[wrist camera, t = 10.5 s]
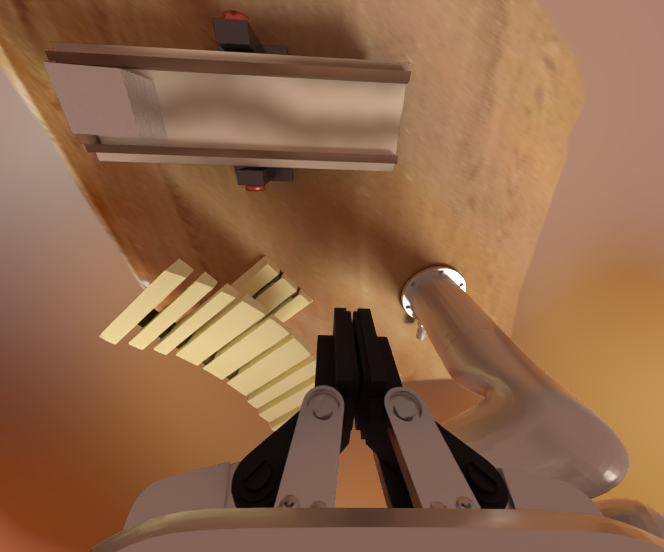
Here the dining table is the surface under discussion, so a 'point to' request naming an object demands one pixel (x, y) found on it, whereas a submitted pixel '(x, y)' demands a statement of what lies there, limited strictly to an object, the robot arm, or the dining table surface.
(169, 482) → the robot arm
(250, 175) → the pivot stand
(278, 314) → the slatted curved stool
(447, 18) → the dining table surface
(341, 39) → the dining table surface
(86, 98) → the block
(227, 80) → the beam
